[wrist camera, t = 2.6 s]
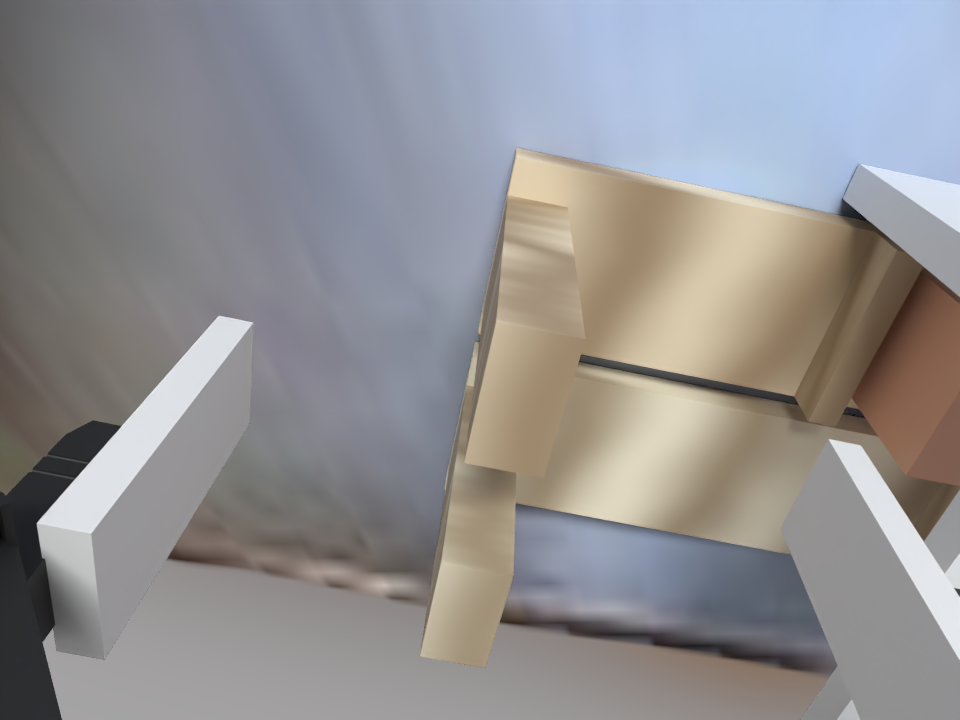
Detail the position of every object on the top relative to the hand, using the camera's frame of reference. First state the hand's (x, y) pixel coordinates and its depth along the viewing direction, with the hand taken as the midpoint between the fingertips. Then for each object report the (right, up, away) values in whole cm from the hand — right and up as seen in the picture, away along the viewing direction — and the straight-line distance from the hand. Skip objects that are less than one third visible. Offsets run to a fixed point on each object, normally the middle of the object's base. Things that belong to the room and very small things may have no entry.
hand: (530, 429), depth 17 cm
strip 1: (+9, +4, +10) cm, 14 cm away
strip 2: (+8, -2, +13) cm, 16 cm away
